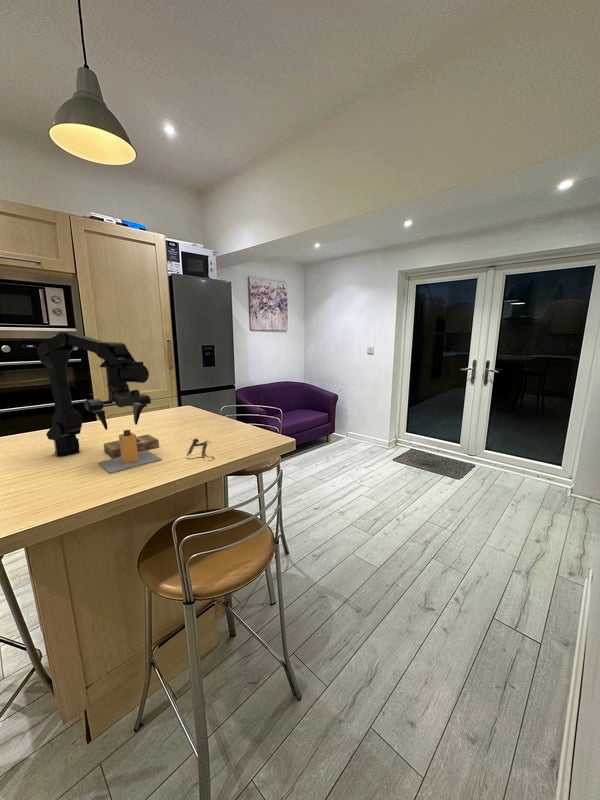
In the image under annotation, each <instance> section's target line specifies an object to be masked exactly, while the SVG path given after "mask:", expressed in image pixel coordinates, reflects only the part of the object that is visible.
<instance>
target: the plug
mask: <svg viewBox="0 0 600 800" xmlns="http://www.w3.org/2000/svg"><path fill="white" fill-rule="evenodd" d="M136 437H137V435H136V434H135V433H133V432H131V429H125V430H123V434H118V438H119V439H118V440H119V442H120V450H121V456H120V457H121V459H122V461H123V462H124V463H125V464H127V463H131V462H134V461H138V453H139V452H138V451H137V441H136Z"/></svg>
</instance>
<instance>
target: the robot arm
mask: <svg viewBox="0 0 600 800" xmlns="http://www.w3.org/2000/svg"><path fill="white" fill-rule="evenodd" d="M75 348H79V349H81V350H84V351H87V352H92V353H94V354H95V355H96V356H97V357H98V358H100V359H102V360H104V361H103V362H102V363H101V364H100V365H99V367H100V368H105V372H106V388H107V393H108V394H107V395H108V396H107V399H108V400H102V399H100V398H96V399H86V400H85V401H84V409H85V410H86V411H88V412H91V413H93V414H95V415H96V416H97V418H98V419H99V421H100V422H101V425H102V426H103V428H104V430H106V431H107V430H108V422H107V419H106V410H104V408H106V407H113V406H117V407H118V408H124V407H132V412H133V423H134V425H135V426H136V425H138V423H139V419H140V415H141V414H142V411H143V409H144V408H146V407H147V406H148V405H150V404H152V399H151V397H150V395H148V394H146V393H141V394H140V390H139V389H132V390H130V387H129V384H128V383H136V384H137V383H138V384H145V383H146V382H147V381H148V379H149V377H150V372H149V370H148V368H147V366H145V365H144V361H136V359H134V356H133V355H132V354H131V352H130V351H129V349H128V347H127V345H126V344H125V343H123V342H118V341H117V342H115V341H102V340H99V339H96V338H93V337H90V336H86V335H84V334H79V333H77V332H75V331H60V332H59V333H57V334H56V335H55V336H52V337H50V338H48V339H46V340H44V341H42V342H41V343H40V344H39V345H38V346H37V347H36V351H37V355H38V358H39V361H40V363H42V365H43V366H44V367H45V368H46V369H47V371H48V377H49V381H50V382H49V383H50V389H51V393H52V398H53V402H54V408H55V410H54V412H53V414H52V417H51V427H50V428H49V430H48V431H47V432H46V434H45V435H46V437H47V439H48V440H50V441H51V440H52V441H53V444H54V454H55V455H56V457H58V458H59V457H64V456H68V455H69V456H70V455H72V454H78V453H80V441H79V438H78V437H77V435H79V434H81V430H82V427H83V423H84V420H83V418H82V412H80V411H77V410H75V408H74V407H73V402H72V396H71V390H70V389H71V388H70V384H69V380H68V379H69V378H68V374H67V369H66V368H67V366H68V363H69V361H70V353H71V352H73V350H74V349H75Z"/></svg>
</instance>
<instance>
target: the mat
mask: <svg viewBox="0 0 600 800" xmlns="http://www.w3.org/2000/svg"><path fill="white" fill-rule="evenodd" d="M159 461H162V458H161V457H159V456H158V455H156V454H155V453H153V452H151V451H149V450H145V451H141V452H138V461H134V462H131V463H127V464H125V463H124V462H123V461H122V459H121V456H120V457H116V458H110V459H105V460H102V461H98V463H97V464H98V465H99V466H101V468H102V469H104V470H105V472H107V474H108V475H111V473H112V474H115V473H119V472H122V470H123V471H127V470H130V469H134V468H137V466H138V467H141V465H142V466H146V465H148V463H149V464H152V462H153V463H156V462H159ZM133 467H134V468H133ZM126 469H127V470H126Z"/></svg>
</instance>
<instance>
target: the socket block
mask: <svg viewBox="0 0 600 800" xmlns="http://www.w3.org/2000/svg"><path fill="white" fill-rule="evenodd" d="M136 441H137V451H138V453H139V452H140V451H141V452H143V451H144V450H145V451H147V450H148V451H149V450H152V449H153V448H154V449H157V447H158V448H160V441H159V439H158V438H156V437H154V436H152V435H150V434H143V435H139V436H136ZM103 448H104V449H103V450H104V452H105V453H106V454H107V453H108V454H109V455H108V454H107V455H108V456H110V457H111V459H114V458H115V457H116V458H118V457H119V456H120V457H121V450H120V442H119V439H118V440H113V441H110V442H109V441H108V442H105V443H103Z"/></svg>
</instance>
